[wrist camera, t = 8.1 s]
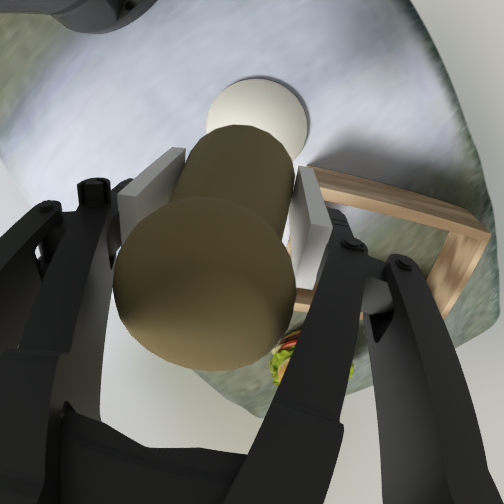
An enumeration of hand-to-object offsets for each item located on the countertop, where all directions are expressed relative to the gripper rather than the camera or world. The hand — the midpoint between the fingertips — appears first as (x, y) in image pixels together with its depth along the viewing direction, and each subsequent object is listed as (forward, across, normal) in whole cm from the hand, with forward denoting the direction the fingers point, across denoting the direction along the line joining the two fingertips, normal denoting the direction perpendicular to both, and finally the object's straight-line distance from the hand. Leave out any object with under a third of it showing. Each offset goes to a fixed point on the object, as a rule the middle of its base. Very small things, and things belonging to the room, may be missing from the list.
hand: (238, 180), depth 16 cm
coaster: (+19, 0, 0) cm, 19 cm away
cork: (+1, 0, 0) cm, 1 cm away
